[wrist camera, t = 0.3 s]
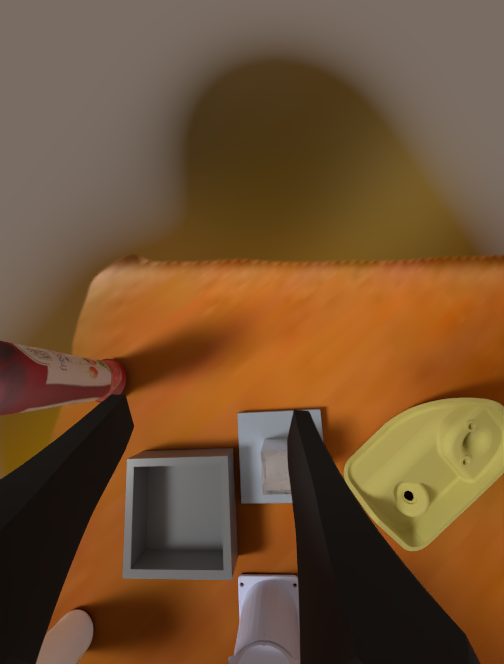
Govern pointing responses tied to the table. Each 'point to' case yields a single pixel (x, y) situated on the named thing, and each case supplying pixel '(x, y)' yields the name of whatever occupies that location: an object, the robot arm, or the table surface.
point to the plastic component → (428, 466)
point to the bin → (180, 515)
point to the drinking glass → (67, 639)
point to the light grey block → (275, 467)
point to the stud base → (250, 443)
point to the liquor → (53, 379)
